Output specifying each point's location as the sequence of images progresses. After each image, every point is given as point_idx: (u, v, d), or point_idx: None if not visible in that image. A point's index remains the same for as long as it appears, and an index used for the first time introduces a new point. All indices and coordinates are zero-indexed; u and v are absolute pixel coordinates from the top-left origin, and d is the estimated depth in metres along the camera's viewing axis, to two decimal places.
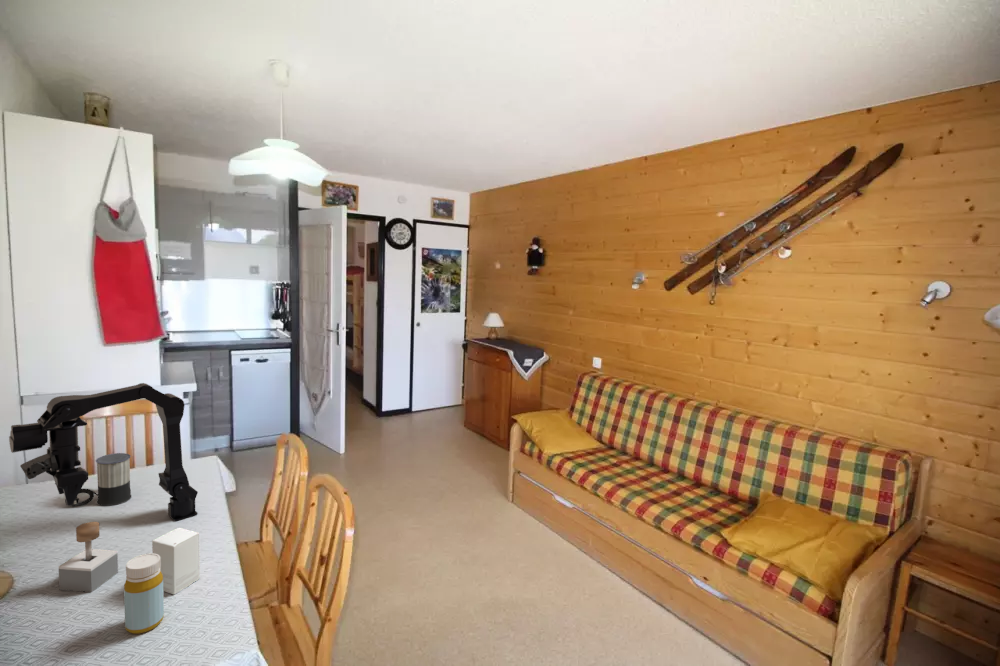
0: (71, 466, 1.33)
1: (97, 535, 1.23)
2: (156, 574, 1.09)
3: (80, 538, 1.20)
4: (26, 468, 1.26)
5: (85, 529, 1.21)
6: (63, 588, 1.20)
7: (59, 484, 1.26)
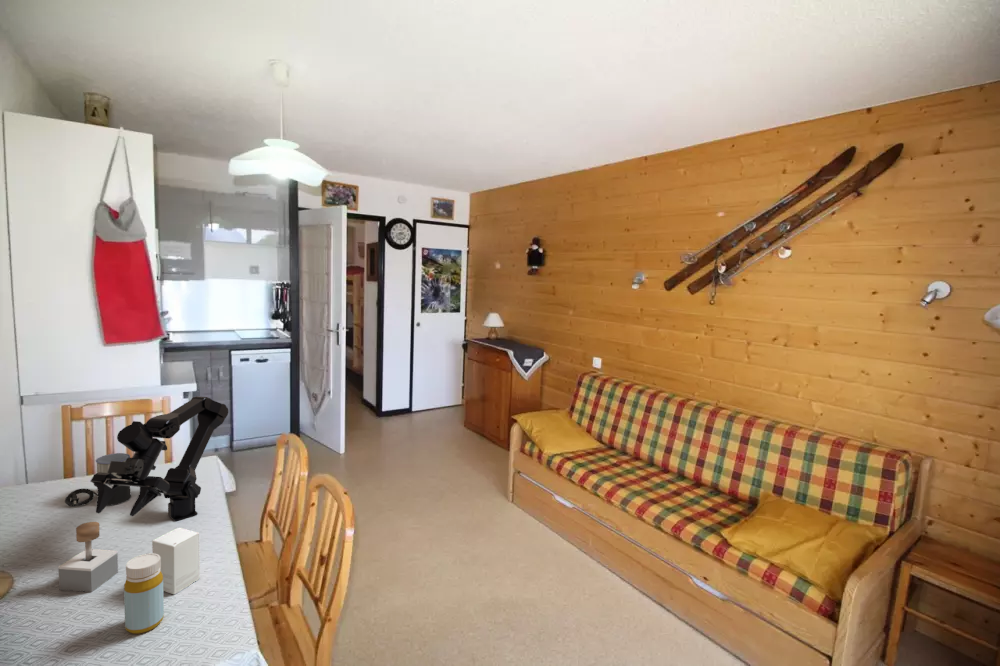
0: None
1: (97, 535, 1.23)
2: (156, 574, 1.09)
3: (80, 538, 1.20)
4: (127, 462, 1.32)
5: (85, 529, 1.21)
6: (63, 588, 1.20)
7: (156, 484, 1.33)
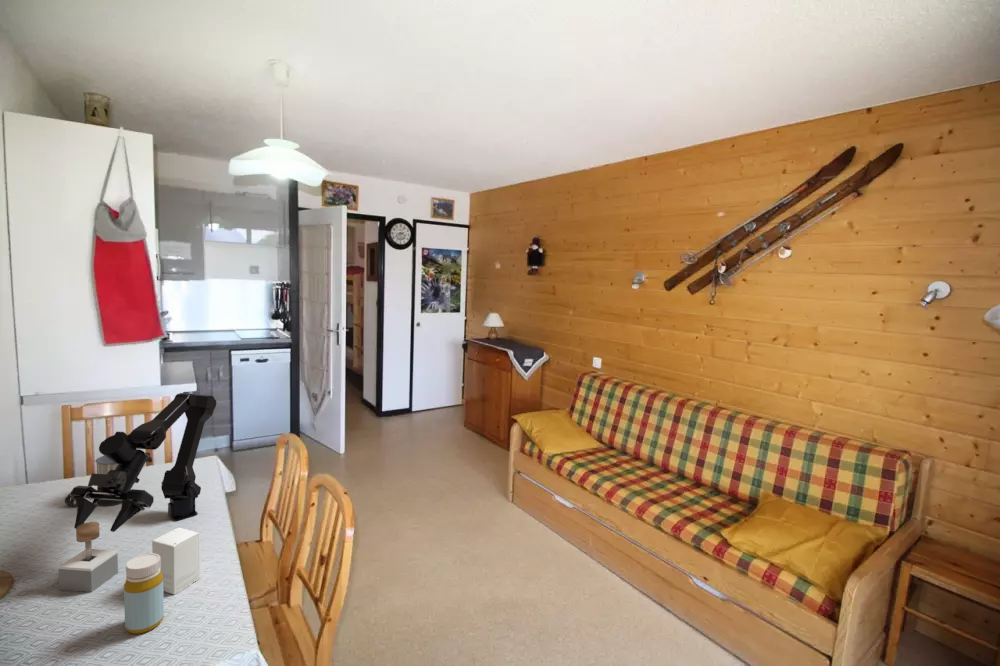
0: None
1: (97, 535, 1.23)
2: (156, 574, 1.09)
3: (80, 538, 1.20)
4: (109, 474, 1.25)
5: (85, 529, 1.21)
6: (63, 588, 1.20)
7: (139, 497, 1.27)
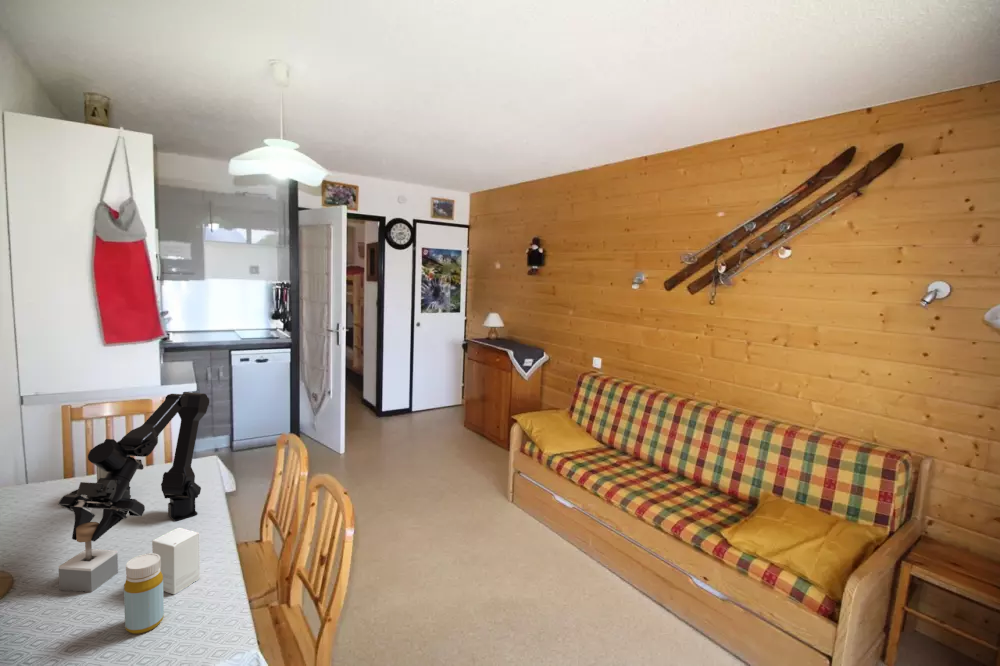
0: None
1: None
2: (156, 574, 1.09)
3: (80, 539, 1.20)
4: (98, 483, 1.22)
5: (85, 529, 1.21)
6: (63, 588, 1.20)
7: (130, 507, 1.24)
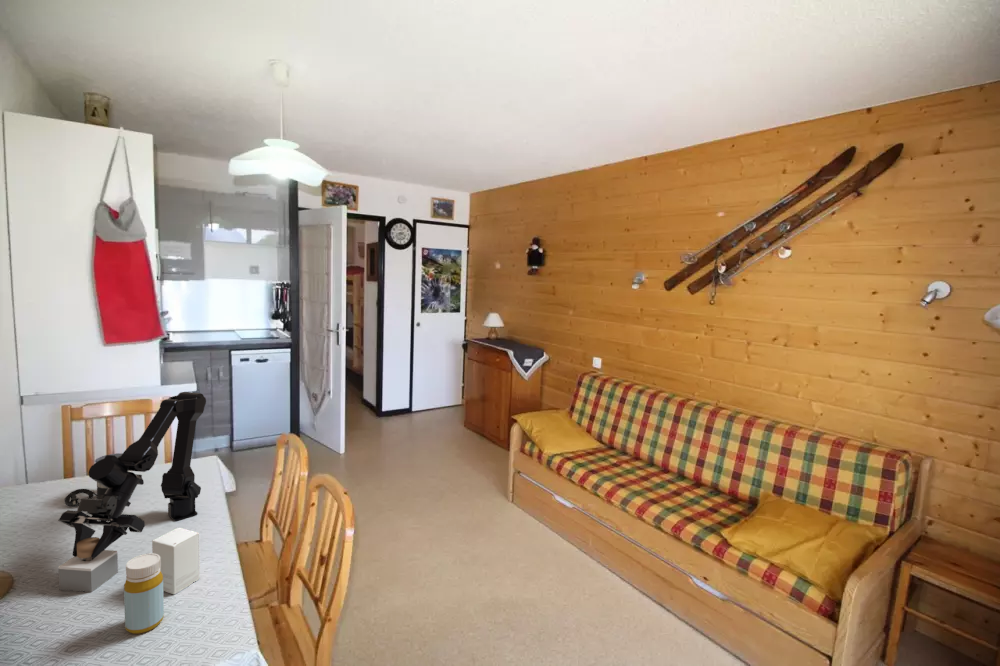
0: None
1: None
2: (156, 574, 1.09)
3: (81, 554, 1.21)
4: (99, 499, 1.23)
5: (86, 545, 1.21)
6: (63, 588, 1.20)
7: (130, 523, 1.24)
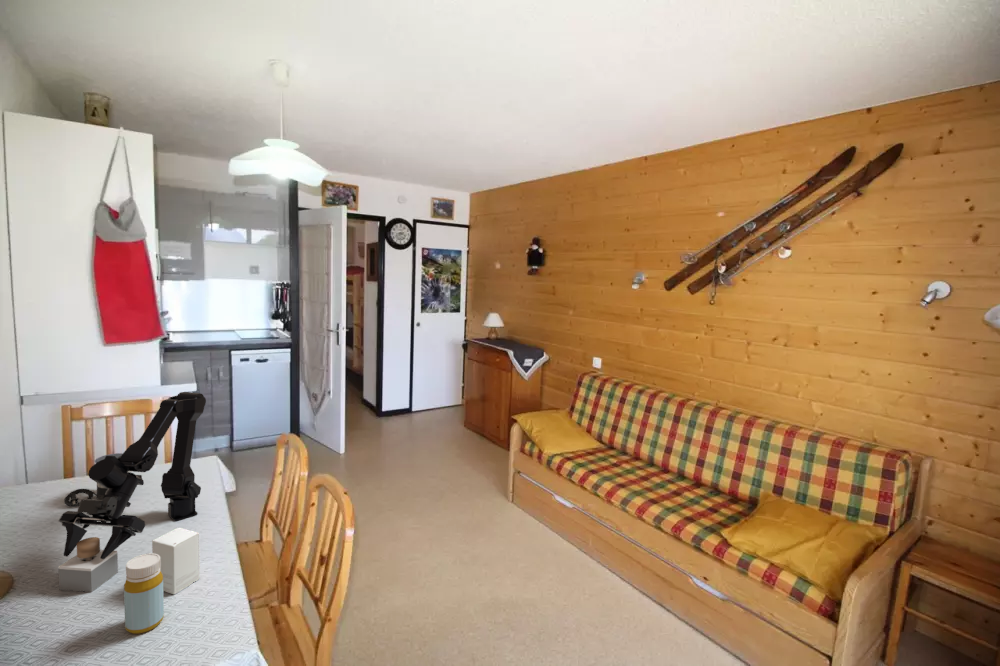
0: (118, 519, 1.28)
1: (98, 551, 1.23)
2: (156, 574, 1.09)
3: (81, 554, 1.21)
4: (99, 500, 1.23)
5: (86, 545, 1.21)
6: (63, 588, 1.20)
7: (130, 524, 1.24)
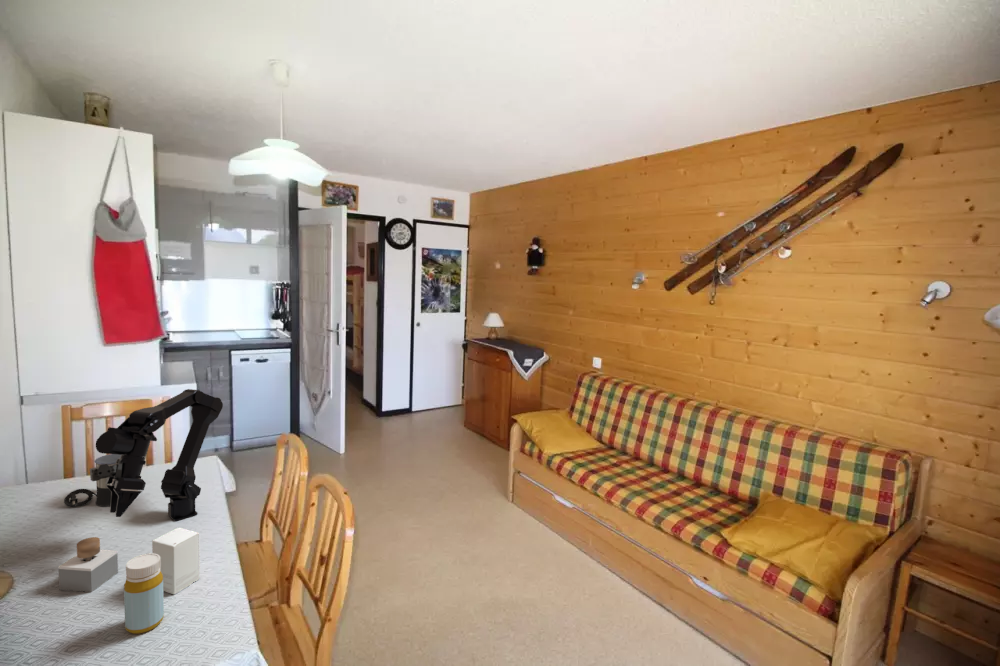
0: (132, 478, 1.36)
1: (98, 551, 1.23)
2: (156, 574, 1.09)
3: (81, 554, 1.21)
4: (94, 469, 1.31)
5: (86, 545, 1.21)
6: (63, 588, 1.20)
7: (117, 486, 1.28)
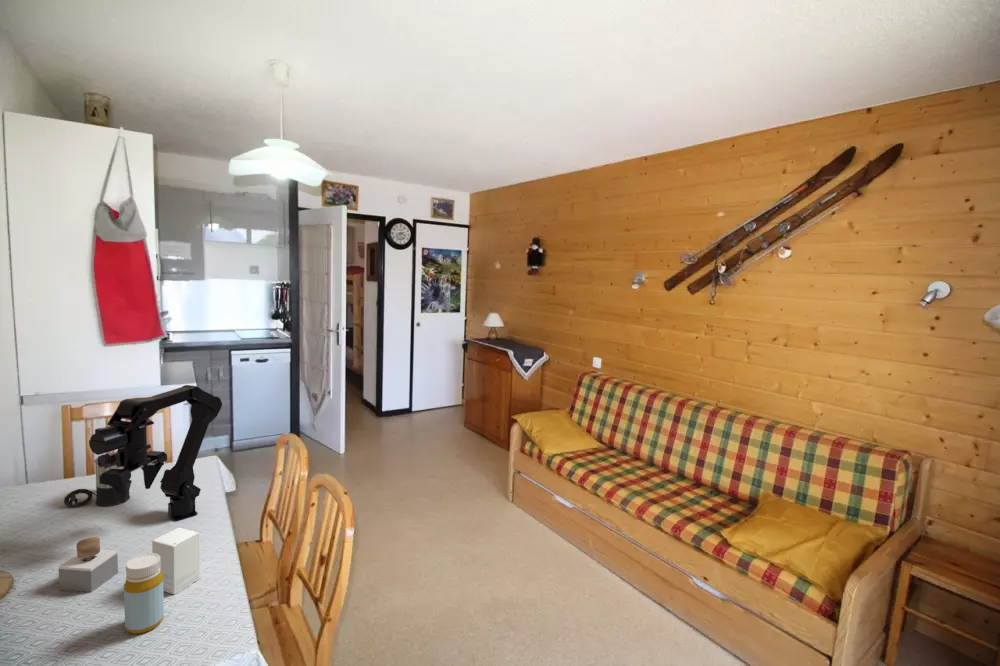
0: (130, 466, 1.39)
1: (98, 551, 1.23)
2: (156, 574, 1.09)
3: (81, 554, 1.21)
4: None
5: (86, 545, 1.21)
6: (63, 588, 1.20)
7: (99, 481, 1.33)
